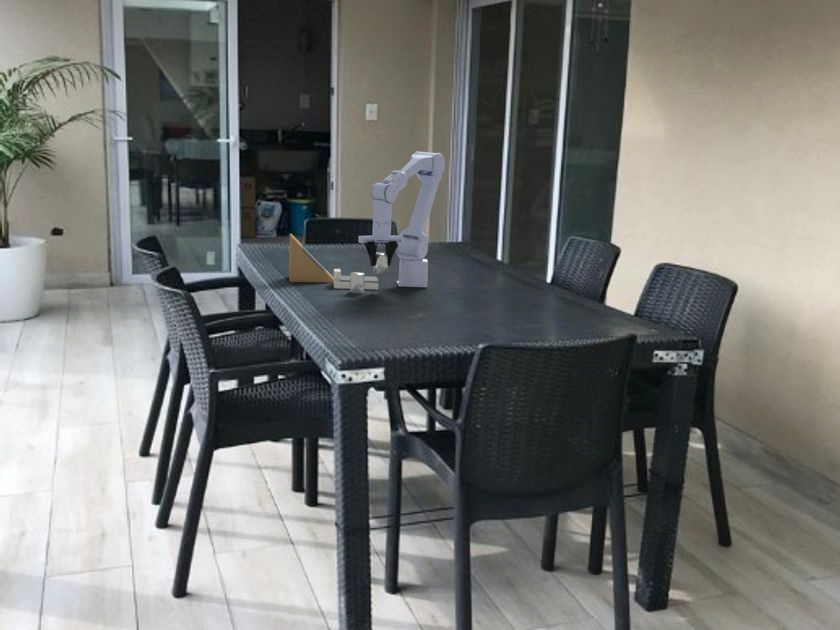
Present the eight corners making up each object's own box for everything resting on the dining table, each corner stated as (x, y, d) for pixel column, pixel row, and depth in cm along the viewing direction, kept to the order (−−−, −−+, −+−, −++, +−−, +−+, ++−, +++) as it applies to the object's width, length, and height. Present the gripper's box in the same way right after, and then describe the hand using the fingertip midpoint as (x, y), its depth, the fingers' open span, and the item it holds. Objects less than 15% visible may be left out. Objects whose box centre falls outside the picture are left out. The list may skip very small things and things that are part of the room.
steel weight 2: (384, 271, 277) (385, 252, 275) (389, 273, 273) (390, 254, 271) (371, 271, 275) (372, 252, 274) (376, 274, 271) (377, 255, 270)
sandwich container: (337, 283, 287) (338, 237, 283) (289, 282, 284) (290, 236, 280) (334, 278, 295) (336, 233, 291) (288, 277, 292) (289, 232, 288)
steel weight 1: (363, 291, 275) (364, 272, 273) (364, 294, 271) (365, 275, 269) (349, 290, 274) (350, 272, 273) (350, 293, 270) (350, 274, 269)
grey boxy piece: (376, 284, 287) (376, 269, 286) (378, 289, 279) (378, 274, 277) (332, 282, 285) (332, 267, 284) (333, 288, 277) (333, 272, 276)
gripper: (364, 224, 264) (363, 268, 267) (408, 223, 270) (406, 267, 273) (356, 220, 270) (355, 264, 273) (399, 220, 276) (397, 263, 279)
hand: (380, 265), depth 274 cm, fingers closed on steel weight 2, 4 cm apart
